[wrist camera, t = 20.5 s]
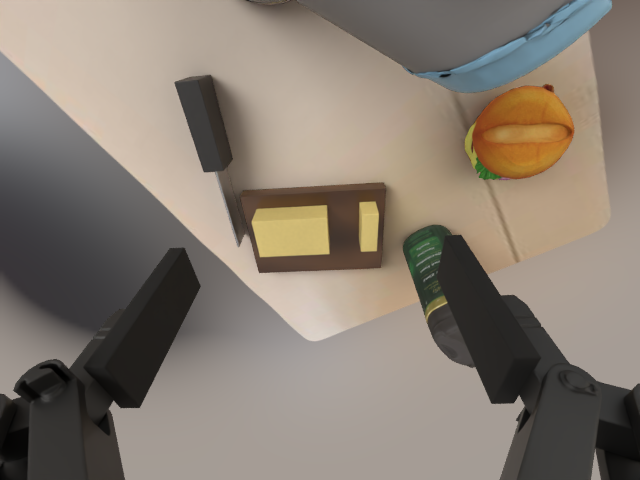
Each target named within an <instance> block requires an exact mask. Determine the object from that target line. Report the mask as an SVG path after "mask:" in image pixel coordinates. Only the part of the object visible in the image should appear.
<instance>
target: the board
mask: <svg viewBox="0 0 640 480" xmlns="http://www.w3.org/2000/svg"><path fill="white" fill-rule="evenodd" d="M385 194H386V188H385V185H384V183H366V184H349V185H331V186H314V187H297V188H280V189H262V190H245V191H243V192H242V194H241V195H240V200H241V204H242V208H243V212H244V216H245V220H246V224H247V227H248V231H249V235H250V239H251V243H252V247H253V251H254V255H255V259H256V263H257V267H258V271H259V273H270V272H295V271H319V270H344V269H369V268H381V262H382V245H383V228H384V211H385ZM360 202H376V205H377V209H378V213H379V222H378V238H377V251H368V252H361V249H360V242H359V203H360ZM321 205H327V210H328V225H329V240H330V254H320V255H297V256H274V257H260V255H259V250H258V246H257V242H256V238H255V234H254V230H253V226H252V219H253V217H254V215H255V212H256V210H257V209H265V208H283V207H302V206H321Z"/></svg>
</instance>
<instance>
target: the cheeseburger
mask: <svg viewBox="0 0 640 480" xmlns="http://www.w3.org/2000/svg"><path fill="white" fill-rule="evenodd" d="M573 135H574V125H573V122H572V118H571V116H570V115H569V113H568V111H567V109H566V108H565V106H564V105H563V103H562V102H561V101H560V99H559V98H558V97H557V96H556V95H555V94H554V87H553V86H552V85H549V84H545V85H544V86H543V87H535V86H523V87H519V88H515V89H512V90H510V91H508V92H506V93H504V94H502V95H500V96H498V97H497V98H495V99H494V100H493V101H492V102H490V103H489V104H488V106H487V107H486V108H485V109H484V110H483V111H482V113H481V115H480V116H478V118H477V119H476V121H475V123H474V124H473V125H472V126H471V128H470V129H469V131H468V134H467V136H466V138H465V151H466V153H467V154H468V156H469V158H470V161H471V163H472V166H473V168H474V169H476V170H477V173H479V172H481V174H480V176H479V178H482V179H484V180H485V179H493V180H494V179H499V180H509V179H521V178H527V177H531V176H534V175H536V174H539V173H542V172H544V171H545V170H547V169H548V168H550V167H551V166H552V165H554V164H555V163H556V162H557V161H558V160H559V159H560V157H561V156H562V155H563V153H564V152H565V151H566V149H567V148H568V146H569V144H570V143H571V141H572V138H573Z"/></svg>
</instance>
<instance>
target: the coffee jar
mask: <svg viewBox="0 0 640 480" xmlns="http://www.w3.org/2000/svg"><path fill="white" fill-rule="evenodd" d="M447 235H452V234H451V232H450V231H449V230H448V229H447V228H445V227H444V226H441V225H431V226H428V227H425V228H423V229H420V230H418V231H417V232H415V233H413V234H412V235H411V236H409V237H408V238H407V239H406V240H405V242H404V244H403V252H404V255H405V258H406V261H407V264H408V266H409V269H410V272H411V275H412V278H413V281H414V284H415V287H416V290H417V293H418V296H419V299H420V302H421V305H422V308H423V311H424V315H425V318H426V322H427V324H428V327H429V329H430V332H431V334H432V337H433V339H434V341H435V343H436V344H437V346H438V347H439V348H440V349H441V351H442V352H443V353H444V354H445V355H447V357H448V358H449V359H451V360H452V361H454V362H456V363H459V364H462V365H467V366H469V367H471V368H473V367H475V365H474V362H473V360H472V358H471V355H470V353H469V351H468V349H467V346H466V344H465V342H464V340H463V337H462V335H461V333H460V330H459V328H458V326H457V324H456V321H455V319H454V317H453V314H452V312H451V310H450V308H449V305H448V303H447V301H446V298H445V296H444V294H443V292H442V289H441V287H440V285H439V282H438V280H437V278H436V277H437V272H438V267H439V262H440V257H441V253H442V248H443V243H444V238H445V236H447Z"/></svg>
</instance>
